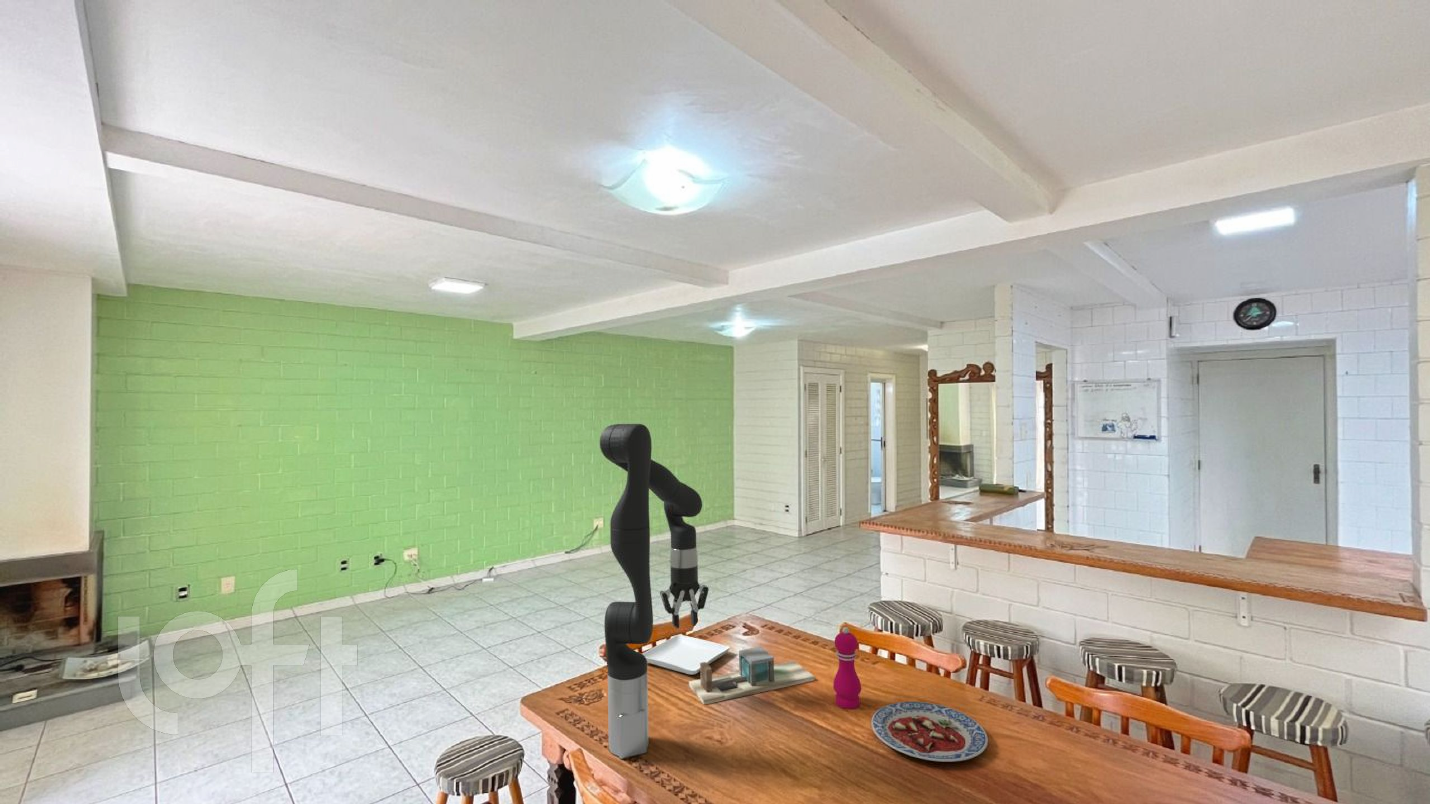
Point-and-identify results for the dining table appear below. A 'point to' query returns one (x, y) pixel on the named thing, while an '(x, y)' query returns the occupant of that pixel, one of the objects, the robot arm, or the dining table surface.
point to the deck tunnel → (753, 678)
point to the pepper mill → (846, 671)
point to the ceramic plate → (929, 731)
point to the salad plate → (685, 653)
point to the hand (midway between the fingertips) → (685, 625)
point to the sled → (760, 672)
